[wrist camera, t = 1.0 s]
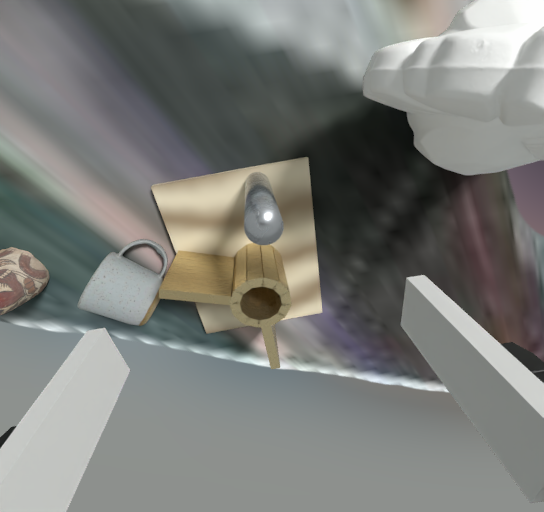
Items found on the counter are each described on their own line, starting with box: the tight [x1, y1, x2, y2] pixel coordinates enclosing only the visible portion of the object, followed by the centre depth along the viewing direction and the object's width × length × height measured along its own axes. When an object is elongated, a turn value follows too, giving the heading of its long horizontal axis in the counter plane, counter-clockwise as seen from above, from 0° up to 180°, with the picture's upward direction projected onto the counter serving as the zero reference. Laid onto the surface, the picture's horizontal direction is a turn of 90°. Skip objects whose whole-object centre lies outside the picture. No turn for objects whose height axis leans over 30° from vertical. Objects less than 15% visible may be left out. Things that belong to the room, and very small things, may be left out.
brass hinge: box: [159, 243, 292, 369], centre depth 35 cm, size 15×14×9 cm
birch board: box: [151, 157, 322, 333], centre depth 38 cm, size 24×19×1 cm
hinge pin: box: [244, 172, 284, 245], centre depth 26 cm, size 3×3×14 cm
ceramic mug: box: [78, 239, 168, 326], centre depth 34 cm, size 11×8×8 cm
